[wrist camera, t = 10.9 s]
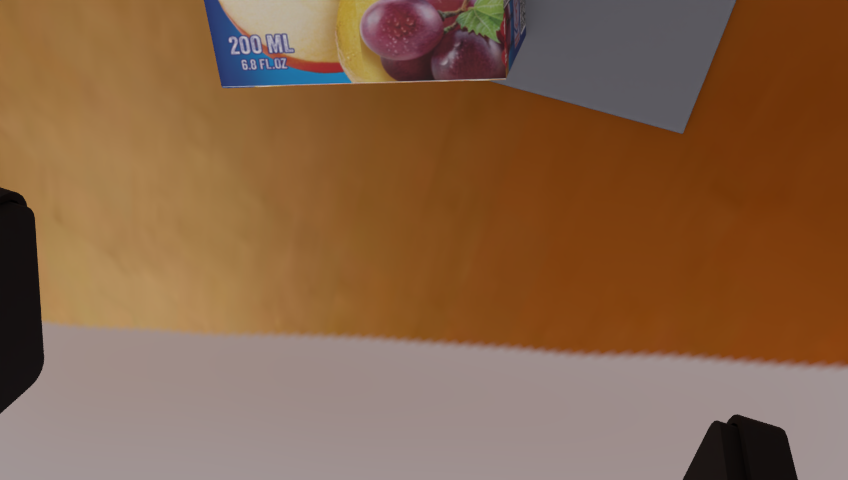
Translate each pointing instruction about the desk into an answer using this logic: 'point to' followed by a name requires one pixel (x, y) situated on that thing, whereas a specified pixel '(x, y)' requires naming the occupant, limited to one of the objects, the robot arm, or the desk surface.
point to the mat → (621, 55)
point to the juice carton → (363, 41)
